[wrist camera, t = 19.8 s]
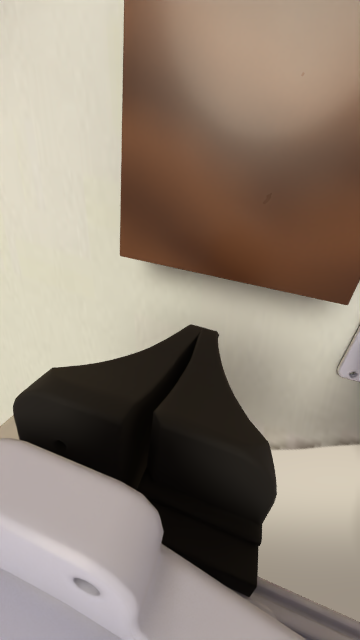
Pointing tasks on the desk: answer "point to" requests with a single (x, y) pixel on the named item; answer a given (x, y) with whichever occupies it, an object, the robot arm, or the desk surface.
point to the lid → (244, 141)
